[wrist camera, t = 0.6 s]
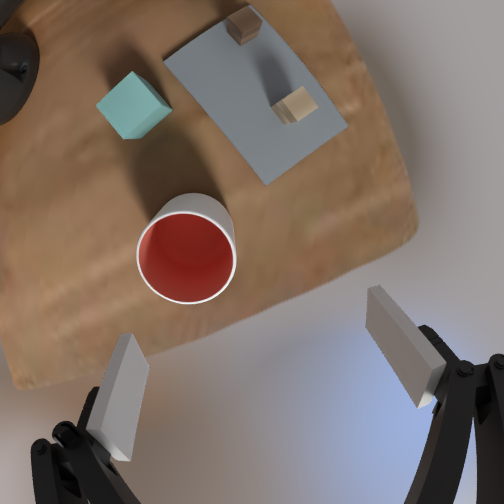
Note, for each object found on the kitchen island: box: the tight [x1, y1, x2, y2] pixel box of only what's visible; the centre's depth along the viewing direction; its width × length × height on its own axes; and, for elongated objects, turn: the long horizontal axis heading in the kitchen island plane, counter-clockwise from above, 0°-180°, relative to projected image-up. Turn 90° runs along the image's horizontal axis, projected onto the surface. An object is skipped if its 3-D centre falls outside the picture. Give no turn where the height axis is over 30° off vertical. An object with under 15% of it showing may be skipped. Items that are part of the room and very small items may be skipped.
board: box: [163, 5, 348, 186], centre depth 31 cm, size 20×13×1 cm, turn 38°
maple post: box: [271, 86, 318, 124], centre depth 28 cm, size 3×3×7 cm
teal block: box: [96, 71, 173, 139], centre depth 28 cm, size 5×5×7 cm
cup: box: [136, 193, 236, 304], centre depth 33 cm, size 10×10×10 cm
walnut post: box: [227, 5, 263, 46], centre depth 25 cm, size 3×3×5 cm
